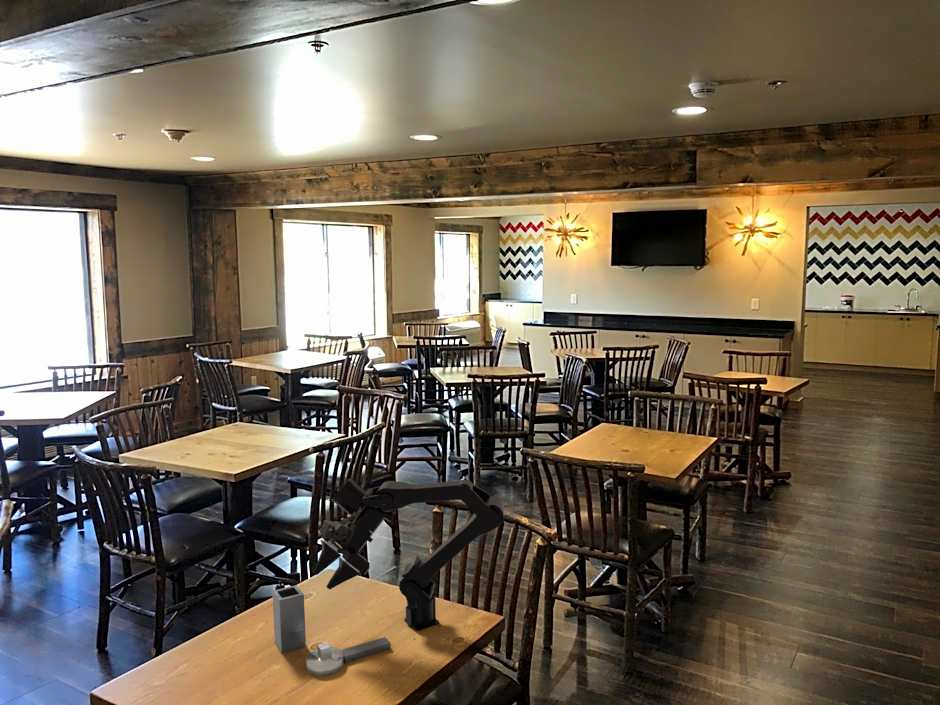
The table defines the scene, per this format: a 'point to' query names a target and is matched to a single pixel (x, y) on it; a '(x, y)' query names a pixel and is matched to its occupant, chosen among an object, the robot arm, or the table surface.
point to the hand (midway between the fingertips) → (321, 580)
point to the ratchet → (341, 656)
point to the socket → (289, 618)
